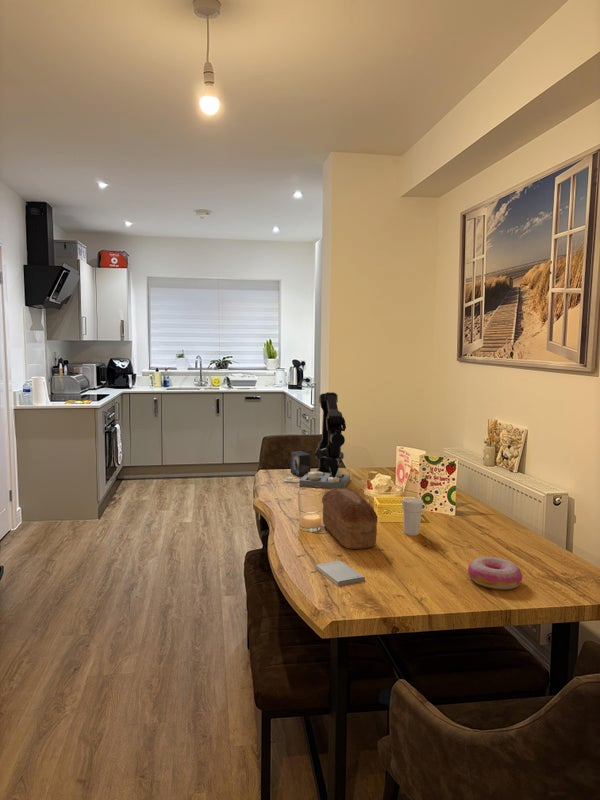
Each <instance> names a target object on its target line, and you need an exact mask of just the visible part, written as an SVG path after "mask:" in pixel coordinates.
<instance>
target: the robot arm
mask: <svg viewBox="0 0 600 800" xmlns="http://www.w3.org/2000/svg"><path fill="white" fill-rule="evenodd" d="M318 397H319V398H318V403H319V406H320V408H321V409H322V424H321V425H322V427H321V428H322V429H321V438H320V440H319V441H318V444H317V447H316V450H315V452H314V456H315V459H316V460H318V468H317V470H316V472H323V473H331V474H332V478H335V476H336V474H337V471H338V469H340V466H341V464H342V460H344V459H345V454H344V452H342V446H343V445H344V444H345V441H346V438H345V436H344V435H343V434H342V433H343V432H345V431H346V429H347V425H346V424H347V423H346V420H345V418H344V417H345V416H344V417H343V413H342V411H340V410H339V408H338V398H339V397H338V394H337V393H336V392H331V391H330V392H329V391H328V392H325V393H321V394H319V396H318ZM340 459H341V460H340Z"/></svg>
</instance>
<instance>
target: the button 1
mask: <svg viewBox="0 0 600 800" xmlns="http://www.w3.org/2000/svg"><path fill="white" fill-rule="evenodd" d="M319 472H320V471H310V472H308V480H314V481H318V480H319Z"/></svg>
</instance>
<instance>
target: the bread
mask: <svg viewBox="0 0 600 800" xmlns="http://www.w3.org/2000/svg"><path fill="white" fill-rule="evenodd" d="M321 503H322V522H323V525H324V526H325V528H326V529H327V530H328V531H329V532H330V534H331V535H332V536H333V537H334V538H335V539H336V540H337V541H339V543H340V544H341V545H342V546H343V547H345V548H346V549H350V550H351V549H352V550H358V549H359V550H361V549H362V550H363V549H367V548H373V547H374V546H375V545H376V543H377V542H376V541H377V533H378V532H377V531H378V528H377V526H378V519H379V518H378V517H379V516H378V514H377V512H376V511H375V509H374V508H373V506H371V504H370V503H369V501H367V500H366V499H365V498H364V497H363V496H362V495H361V494H359V492H357V491H354V490H353V489H350V488H346V487H345V488H343V489H337V488H331V489H330V490H328V491H327V492H325V493H324V494H323V495H322V499H321Z"/></svg>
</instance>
